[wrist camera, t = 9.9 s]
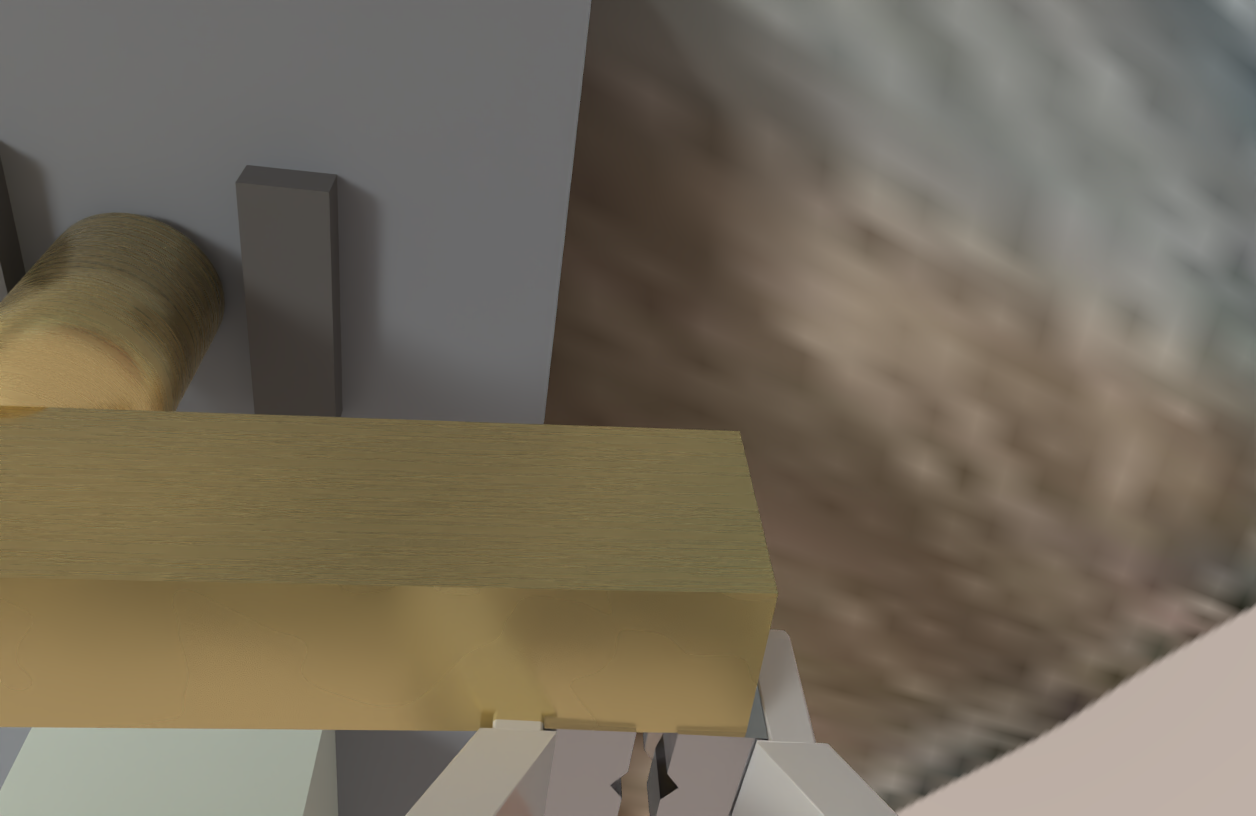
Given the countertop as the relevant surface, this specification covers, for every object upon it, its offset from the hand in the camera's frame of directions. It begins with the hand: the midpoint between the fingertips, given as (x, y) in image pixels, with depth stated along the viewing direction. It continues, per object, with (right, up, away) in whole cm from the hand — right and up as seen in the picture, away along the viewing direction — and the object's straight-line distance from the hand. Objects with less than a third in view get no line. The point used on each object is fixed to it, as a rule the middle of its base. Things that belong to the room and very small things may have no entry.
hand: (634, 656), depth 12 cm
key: (-7, +5, +3) cm, 9 cm away
